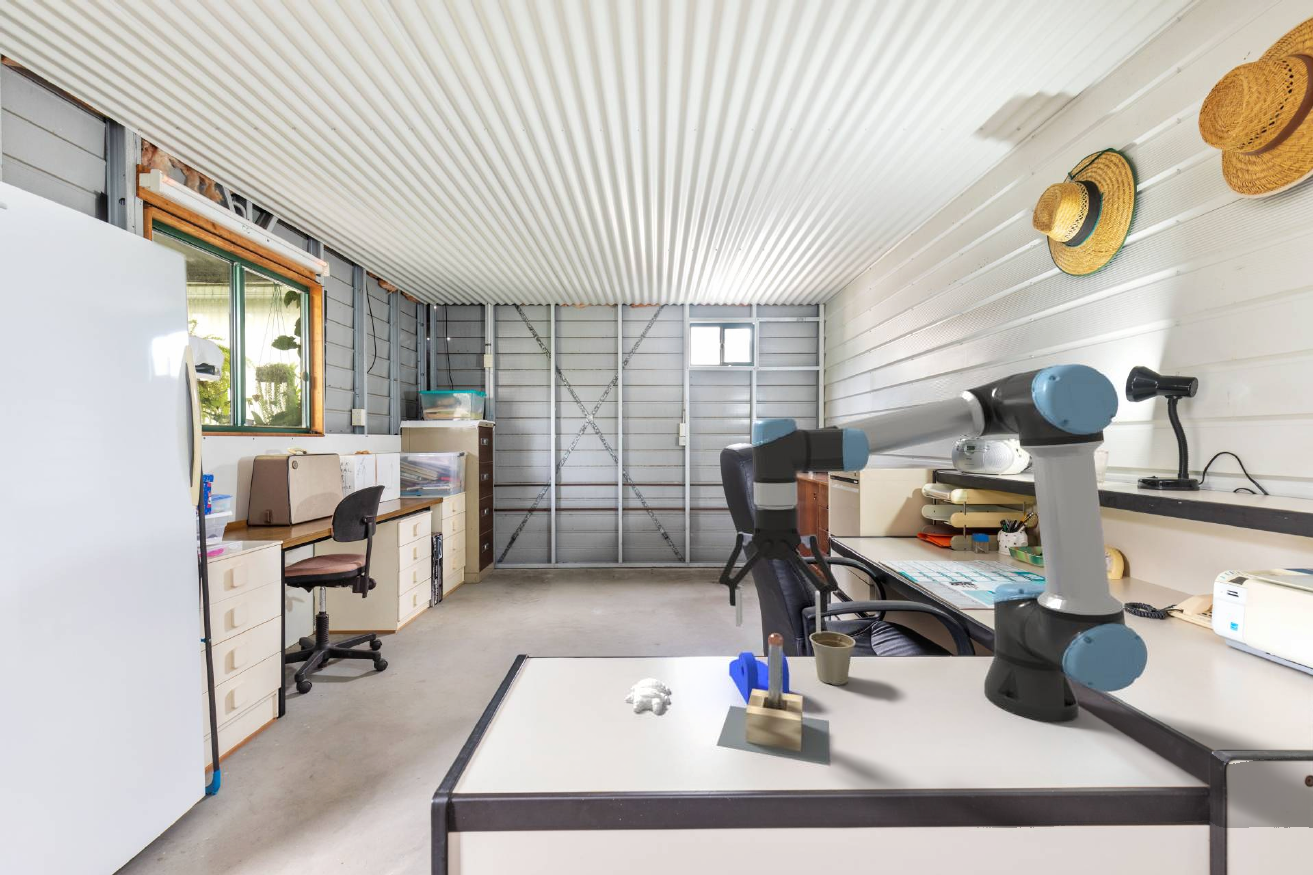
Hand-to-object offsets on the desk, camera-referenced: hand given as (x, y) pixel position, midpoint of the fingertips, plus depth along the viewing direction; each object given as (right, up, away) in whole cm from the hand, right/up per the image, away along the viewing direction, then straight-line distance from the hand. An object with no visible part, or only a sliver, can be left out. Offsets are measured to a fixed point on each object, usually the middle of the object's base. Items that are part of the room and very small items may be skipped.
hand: (778, 627), depth 93 cm
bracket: (-1, -19, +19) cm, 27 cm away
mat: (-1, -19, 0) cm, 19 cm away
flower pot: (+17, -19, +22) cm, 33 cm away
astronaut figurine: (-23, -19, +12) cm, 32 cm away
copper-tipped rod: (-1, -18, 0) cm, 18 cm away
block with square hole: (-1, -18, 0) cm, 18 cm away
